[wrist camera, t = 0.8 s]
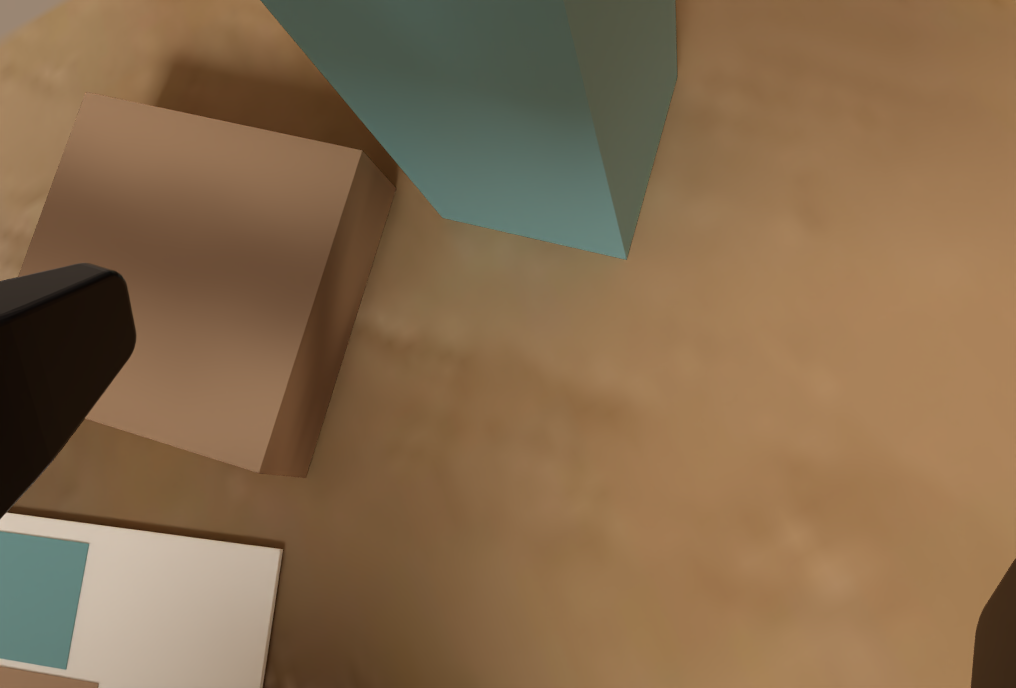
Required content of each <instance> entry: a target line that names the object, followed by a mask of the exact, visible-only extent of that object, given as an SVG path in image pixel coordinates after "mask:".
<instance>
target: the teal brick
mask: <svg viewBox="0 0 1016 688" xmlns="http://www.w3.org/2000/svg"><path fill="white" fill-rule="evenodd" d="M261 1H262V3H263V4H264V5H265V6H266V7H267V9H268V10H269V11H270V12H271V13H272V15H273V16H274V17H275V18H276V19H277V21H278V22H279V23H280V24H281V25H282V27H283V28H284V29H285V30H286V31H287V33H288V34H289V35H290V36H291V37H292V39H293V40H294V41H295V42H296V43H297V45H298V46H299V47H300V48H301V49H302V50H303V52H304V53H305V54H306V55H307V56H308V58H309V59H310V60H311V61H312V62H313V64H314V65H315V66H316V67H317V68H318V70H319V71H320V72H321V73H322V74H323V76H324V77H325V78H326V79H327V80H328V82H329V83H330V84H331V85H332V86H333V88H334V89H335V90H336V91H337V92H338V94H339V95H340V96H341V97H342V98H343V100H344V101H345V102H346V103H347V104H348V105H349V107H350V108H351V109H352V110H353V111H354V113H355V114H356V115H357V116H358V117H359V119H360V120H361V121H362V122H363V123H364V125H365V126H366V127H367V128H368V129H369V131H370V132H371V133H372V134H373V135H374V137H375V138H376V139H377V140H378V141H379V143H380V144H381V145H382V146H383V147H384V149H385V150H386V151H387V152H388V153H389V154H390V156H391V157H392V158H393V159H394V160H395V162H396V163H397V164H398V165H399V166H400V168H401V169H402V170H403V171H404V172H405V174H406V175H407V176H408V177H409V178H410V180H411V181H412V182H413V183H414V184H415V186H416V187H417V188H418V189H419V190H420V192H421V193H422V194H423V195H424V196H425V198H426V199H427V200H428V201H429V202H430V204H431V205H432V206H433V207H434V208H435V209H436V211H437V212H438V213H439V214H440V215H441V217H442V218H446V219H450V220H454V221H459V222H463V223H468V224H472V225H476V226H481V227H485V228H490V229H494V230H498V231H503V232H507V233H511V234H516V235H520V236H525V237H529V238H533V239H538V240H542V241H547V242H551V243H555V244H560V245H564V246H568V247H573V248H577V249H582V250H586V251H590V252H595V253H599V254H604V255H608V256H612V257H617V258H621V259H626V260H627V257H628V253H629V249H630V246H631V242H632V239H633V235H634V231H635V228H636V224H637V221H638V217H639V213H640V210H641V206H642V203H643V199H644V195H645V192H646V188H647V185H648V181H649V177H650V174H651V170H652V167H653V163H654V159H655V156H656V152H657V148H658V145H659V141H660V138H661V134H662V130H663V127H664V123H665V120H666V116H667V112H668V109H669V105H670V102H671V98H672V94H673V91H674V87H675V84H676V80H677V44H676V4H675V0H261Z"/></svg>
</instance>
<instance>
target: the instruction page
mask: <svg viewBox="0 0 1016 688" xmlns="http://www.w3.org/2000/svg"><path fill="white" fill-rule="evenodd" d="M282 553H283V549H278V548H270V547H263V546H255V545H248V544H240V543H233V542H225V541H218V540H210V539H202V538H195V537H187V536H180V535H172V534H165V533H157V532H150V531H142V530H135V529H127V528H120V527H112V526H105V525H97V524H90V523H82V522H75V521H67V520H60V519H52V518H45V517H37V516H30V515H22V514H14V513H6V514H5V515H4V516H3V517H2V518H1V519H0V688H263V682H264V675H265V668H266V661H267V654H268V648H269V641H270V634H271V627H272V621H273V614H274V607H275V600H276V594H277V587H278V580H279V573H280V567H281V560H282Z"/></svg>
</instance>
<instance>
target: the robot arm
mask: <svg viewBox="0 0 1016 688" xmlns="http://www.w3.org/2000/svg"><path fill="white" fill-rule="evenodd" d="M136 336H137V335H136V328H135V323H134V318H133V313H132V308H131V302H130V297H129V292H128V287H127V283H126V281H125V279H124V278H123V276H122V275H121V274H120V273H118V272H117V271H115V270H111V269H108V268H105V267H101V266H98V265H95V264H91V263H78V264H74V265H69V266H65V267H61V268H56V269H52V270H47V271H43V272H38V273H34V274H30V275H25V276H21V277H16V278H12V279H8V280H3V281H0V519H1V518H2V517H3V516H4V515H5V514H6V513H7V512H8V510H9V509H10V508H11V507H12V506H13V505H14V504H15V503H16V502H17V501H18V499H19V498H20V497H21V496H22V495H23V494H24V493H25V492H26V491H27V490H28V488H29V487H30V486H31V485H32V484H33V483H34V482H35V481H36V480H37V478H38V477H39V476H40V475H41V474H42V473H43V472H44V470H45V469H46V468H47V467H48V466H49V465H50V463H51V462H52V461H53V460H54V458H55V457H56V456H57V455H58V453H59V452H60V451H61V450H62V448H63V447H64V446H65V444H66V443H67V442H68V440H69V439H70V438H71V436H72V435H73V434H74V432H75V431H76V430H77V428H78V427H79V426H80V424H81V423H82V421H83V420H84V419H85V417H86V416H87V415H88V413H89V412H90V411H91V409H92V408H93V407H94V405H95V404H96V403H97V401H98V400H99V399H100V397H101V396H102V395H103V393H104V392H105V391H106V389H107V388H108V386H109V385H110V384H111V382H112V381H113V380H114V378H115V377H116V376H117V374H118V373H119V372H120V370H121V369H122V368H123V366H124V365H125V364H126V362H127V361H128V360H129V358H130V357H131V355H132V353H133V351H134V348H135V344H136ZM971 688H1016V559H1015V560H1014V561H1013V563H1012V564H1011V566H1010V568H1009V569H1008V571H1007V572H1006V574H1005V575H1004V577H1003V579H1002V580H1001V582H1000V583H999V585H998V586H997V588H996V590H995V591H994V593H993V594H992V596H991V597H990V599H989V601H988V602H987V604H986V605H985V607H984V609H983V611H982V613H981V615H980V618H979V621H978V624H977V629H976V635H975V645H974V656H973V668H972V680H971Z"/></svg>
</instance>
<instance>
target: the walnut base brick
mask: <svg viewBox="0 0 1016 688" xmlns="http://www.w3.org/2000/svg"><path fill="white" fill-rule="evenodd" d="M395 191H396V188H395V186H394V185H393V184H392V183H391V182H390V181H389V180H388V179H387V177H386V176H385V175H384V174H383V173H382V172H381V171H380V170H379V168H378V167H377V166H376V165H375V164H374V163H373V162H372V161H371V160H370V158H369V157H368V156H367V155H366V154H365V153H364V152H363V151H362V150H358V149H354V148H349V147H344V146H340V145H335V144H330V143H325V142H321V141H316V140H311V139H307V138H302V137H297V136H292V135H288V134H283V133H278V132H274V131H269V130H264V129H259V128H255V127H250V126H245V125H241V124H236V123H231V122H226V121H222V120H217V119H212V118H208V117H203V116H198V115H193V114H189V113H184V112H179V111H175V110H170V109H165V108H160V107H156V106H151V105H146V104H142V103H137V102H132V101H127V100H123V99H118V98H113V97H109V96H104V95H99V94H94V93H90V92H86V93H85V95H84V98H83V101H82V103H81V106H80V109H79V112H78V114H77V117H76V120H75V123H74V125H73V128H72V131H71V134H70V136H69V139H68V142H67V144H66V147H65V150H64V153H63V155H62V158H61V161H60V164H59V166H58V169H57V172H56V175H55V177H54V180H53V183H52V185H51V188H50V191H49V194H48V196H47V199H46V202H45V205H44V207H43V210H42V213H41V215H40V218H39V221H38V224H37V226H36V229H35V232H34V235H33V237H32V240H31V243H30V246H29V248H28V251H27V254H26V256H25V259H24V262H23V265H22V267H21V270H20V273H19V276H18V277H21V276H25V275H30V274H34V273H38V272H43V271H47V270H52V269H56V268H61V267H65V266H69V265H74V264H78V263H91V264H95V265H98V266H101V267H105V268H108V269H111V270H115V271H117V272H118V273H120V274H121V275H122V276H123V278H124V279H125V281H126V283H127V287H128V292H129V297H130V302H131V308H132V313H133V318H134V323H135V328H136V335H137V336H136V344H135V348H134V351H133V353H132V355H131V357H130V358H129V360H128V361H127V362H126V364H125V365H124V366H123V368H122V369H121V370H120V372H119V373H118V374H117V376H116V377H115V378H114V380H113V381H112V382H111V384H110V385H109V386H108V388H107V389H106V391H105V392H104V393H103V395H102V396H101V397H100V399H99V400H98V401H97V403H96V404H95V405H94V407H93V408H92V409H91V411H90V412H89V413H88V415H87V416H86V417H85V419H88V420H91V421H94V422H98V423H101V424H104V425H107V426H110V427H114V428H117V429H120V430H123V431H126V432H129V433H133V434H136V435H139V436H142V437H145V438H148V439H152V440H155V441H158V442H161V443H164V444H168V445H171V446H174V447H177V448H180V449H183V450H187V451H190V452H193V453H196V454H199V455H202V456H206V457H209V458H212V459H215V460H218V461H222V462H225V463H228V464H231V465H234V466H237V467H241V468H244V469H247V470H250V471H253V472H256V473H262V474H272V475H283V476H293V477H303V478H306V475H307V472H308V469H309V466H310V462H311V459H312V456H313V453H314V450H315V446H316V443H317V440H318V437H319V434H320V431H321V427H322V424H323V421H324V418H325V415H326V411H327V408H328V405H329V402H330V399H331V395H332V392H333V389H334V386H335V383H336V379H337V376H338V373H339V370H340V367H341V363H342V360H343V357H344V354H345V351H346V347H347V344H348V341H349V338H350V335H351V331H352V328H353V325H354V322H355V319H356V315H357V312H358V309H359V306H360V303H361V299H362V296H363V293H364V290H365V287H366V283H367V280H368V277H369V274H370V271H371V267H372V264H373V261H374V258H375V255H376V251H377V248H378V245H379V242H380V239H381V235H382V232H383V229H384V226H385V223H386V219H387V216H388V213H389V210H390V207H391V203H392V200H393V197H394V194H395Z"/></svg>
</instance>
